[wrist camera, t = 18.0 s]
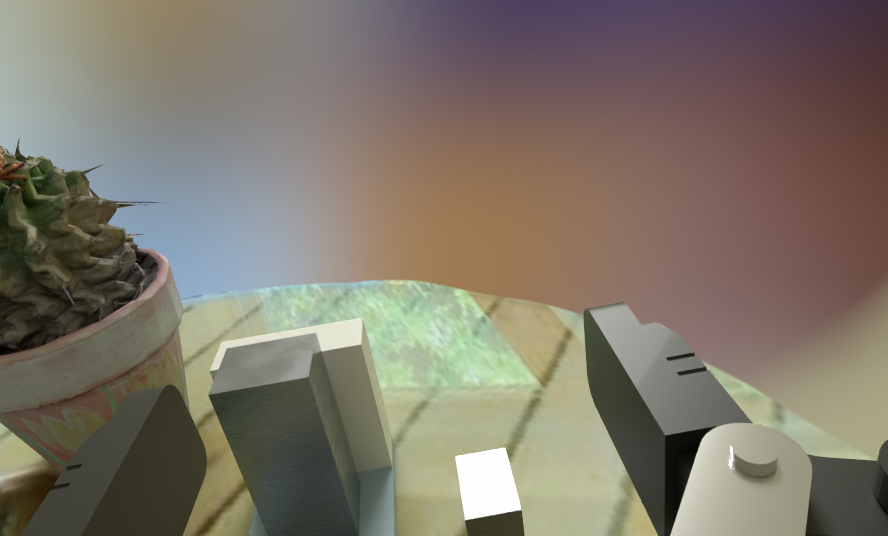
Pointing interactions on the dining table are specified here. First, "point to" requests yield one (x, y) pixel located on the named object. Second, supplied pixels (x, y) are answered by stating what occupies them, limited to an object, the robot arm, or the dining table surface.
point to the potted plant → (76, 309)
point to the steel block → (288, 437)
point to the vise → (350, 417)
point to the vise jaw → (489, 494)
